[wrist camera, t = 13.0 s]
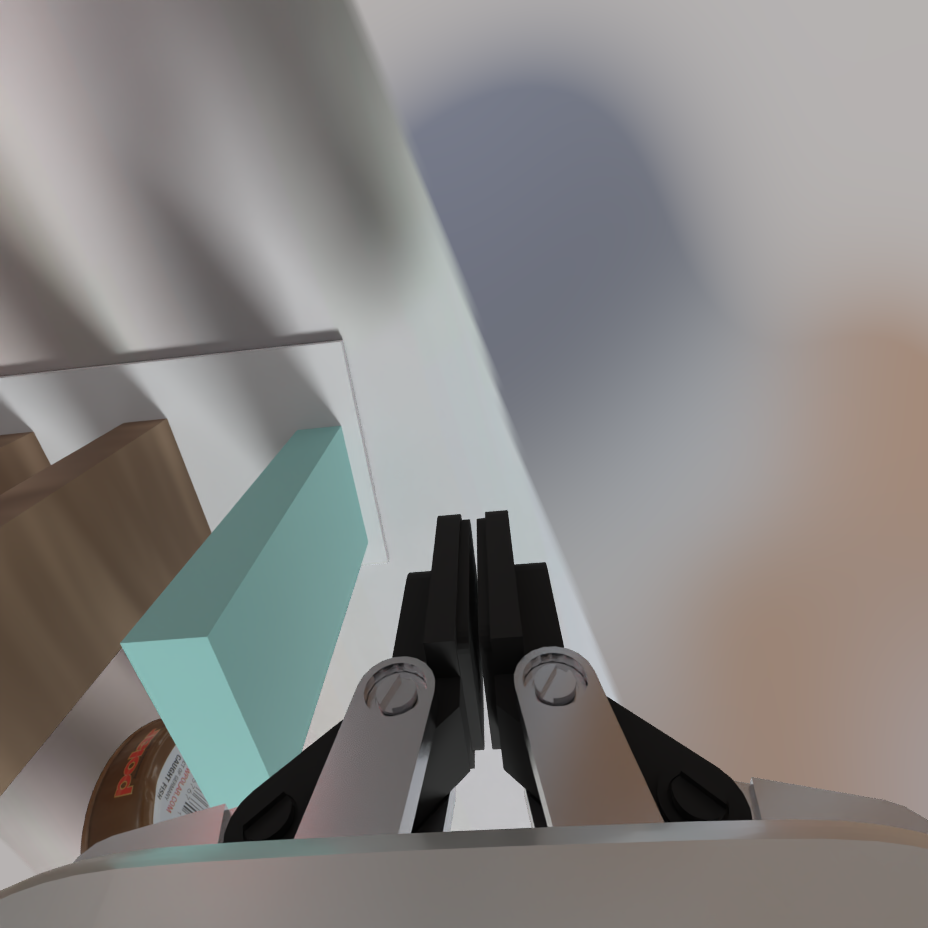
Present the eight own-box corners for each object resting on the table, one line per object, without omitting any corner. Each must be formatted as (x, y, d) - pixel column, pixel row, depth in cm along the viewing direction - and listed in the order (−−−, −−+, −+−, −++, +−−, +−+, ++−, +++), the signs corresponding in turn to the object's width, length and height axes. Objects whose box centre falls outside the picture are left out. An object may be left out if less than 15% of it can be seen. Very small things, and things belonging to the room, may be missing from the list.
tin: (157, 680, 24) (13, 891, 16) (211, 661, 23) (88, 872, 16) (320, 844, 30) (269, 1055, 22) (366, 832, 29) (330, 1045, 22)
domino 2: (341, 425, 18) (207, 636, 9) (368, 542, 20) (283, 807, 11) (297, 430, 18) (119, 643, 9) (329, 545, 20) (212, 811, 11)
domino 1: (167, 418, 18) (-147, 622, 9) (212, 536, 20) (-1, 797, 11) (123, 422, 18) (-231, 629, 9) (174, 539, 20) (-69, 801, 11)
